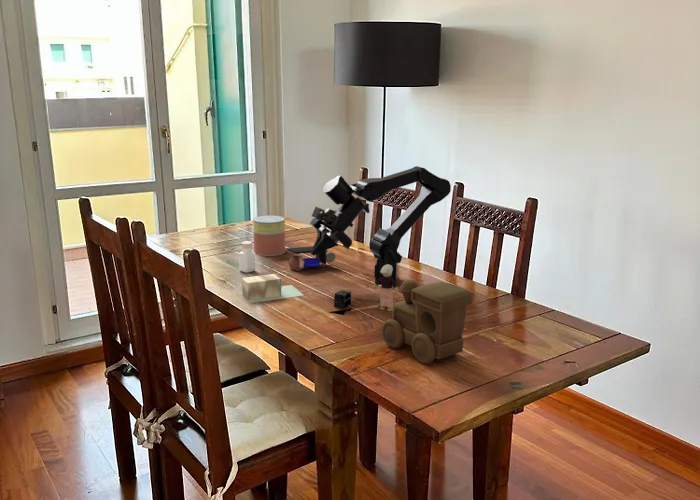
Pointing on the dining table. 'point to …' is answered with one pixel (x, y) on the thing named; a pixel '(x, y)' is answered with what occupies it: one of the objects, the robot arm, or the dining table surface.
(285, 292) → the mat
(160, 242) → the dining table surface
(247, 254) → the pepper shaker
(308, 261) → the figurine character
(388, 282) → the grandmother figurine
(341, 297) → the black boxy device
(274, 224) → the canned food
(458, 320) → the wooden toy train
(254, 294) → the maple block
